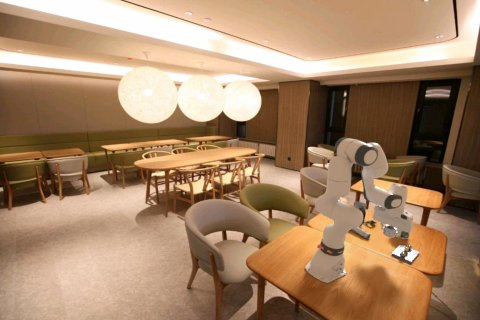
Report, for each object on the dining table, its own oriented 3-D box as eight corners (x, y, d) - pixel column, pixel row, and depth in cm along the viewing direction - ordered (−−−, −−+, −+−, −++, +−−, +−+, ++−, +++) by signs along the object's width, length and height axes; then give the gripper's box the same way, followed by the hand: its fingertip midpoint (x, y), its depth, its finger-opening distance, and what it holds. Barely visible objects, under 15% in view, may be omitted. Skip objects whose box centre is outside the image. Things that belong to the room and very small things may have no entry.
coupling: (392, 238, 134) (394, 230, 133) (381, 234, 138) (383, 226, 137) (396, 235, 137) (398, 227, 136) (385, 231, 142) (387, 223, 141)
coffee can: (409, 234, 165) (413, 216, 162) (408, 241, 157) (412, 222, 154) (392, 229, 171) (395, 212, 168) (390, 235, 163) (394, 217, 160)
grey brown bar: (367, 235, 155) (336, 215, 175) (364, 243, 158) (333, 222, 177) (371, 233, 158) (340, 213, 178) (368, 241, 161) (338, 221, 180)
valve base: (410, 264, 134) (412, 256, 133) (391, 255, 142) (393, 247, 140) (418, 254, 143) (420, 247, 142) (400, 246, 151) (401, 239, 149)
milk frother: (348, 218, 185) (351, 201, 182) (365, 217, 188) (368, 200, 184) (360, 228, 172) (363, 209, 168) (378, 226, 175) (382, 208, 171)
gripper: (372, 205, 140) (368, 226, 143) (413, 219, 125) (407, 242, 128) (377, 203, 144) (373, 223, 147) (416, 216, 128) (411, 238, 132)
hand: (389, 232), depth 137 cm, fingers closed on coupling, 6 cm apart
